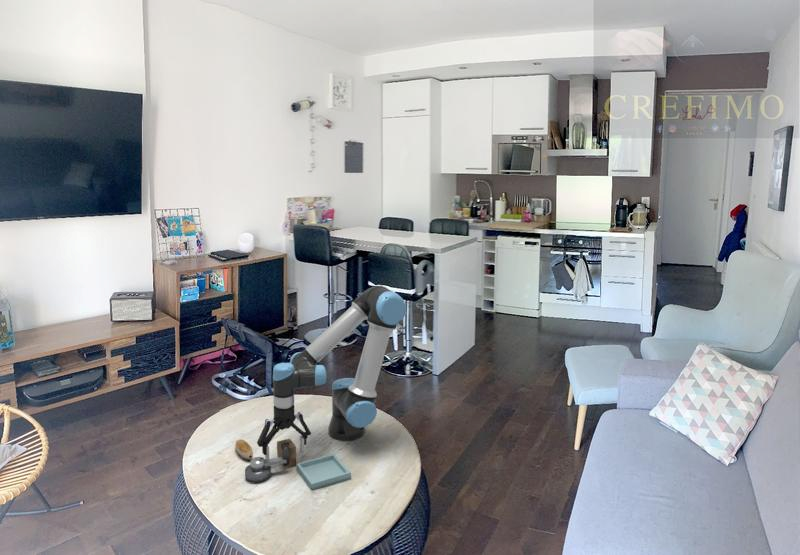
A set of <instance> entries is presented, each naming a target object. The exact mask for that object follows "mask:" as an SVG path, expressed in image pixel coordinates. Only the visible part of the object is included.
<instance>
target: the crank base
mask: <svg viewBox="0 0 800 555" xmlns="http://www.w3.org/2000/svg"><path fill="white" fill-rule="evenodd" d="M271 477H272V467H271V466H266V467H265V469H264V470H262V471H260V472H253V471H251V464H248V465H247V466H246V467H245V469H244V478H245V481H246V482H247V483H250V484H253V485H254V484H263V483H265V482H267V481H269V479H271Z"/></svg>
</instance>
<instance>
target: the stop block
mask: <svg viewBox="0 0 800 555" xmlns="http://www.w3.org/2000/svg"><path fill="white" fill-rule="evenodd" d="M282 443H289V465H288V466H283V464H279V465H280V466H281V468H282V469H283V470H288V469H292V468H294V467H296V464H297V446H296V444H295V443H294V442H293V441H292V439H291V438H290V437H289V438H286V439H282V440H279V441H278V440H277V441H276V449H277V450H276V454H277V457H276V458H278V457H282V448H281V446H280V444H282Z"/></svg>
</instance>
